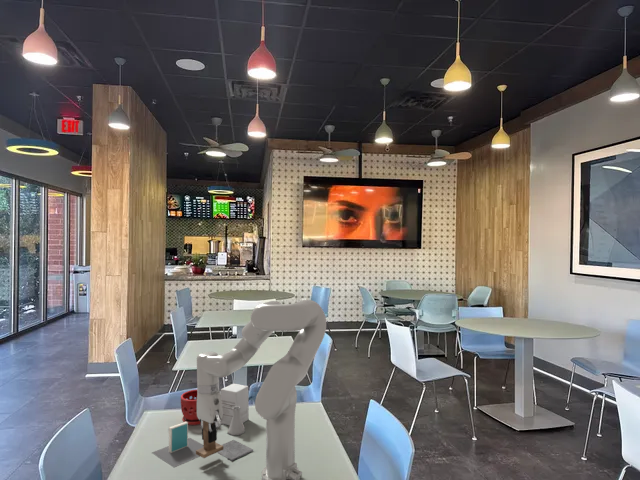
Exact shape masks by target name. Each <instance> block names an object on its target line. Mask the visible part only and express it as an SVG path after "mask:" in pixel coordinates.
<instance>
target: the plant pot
mask: <svg viewBox="0 0 640 480" xmlns="http://www.w3.org/2000/svg"><path fill="white" fill-rule="evenodd" d="M190 397H191V398H190ZM180 409H181V413H182V415H183V416H182V423H183V422H188V426H197V425H201V423H200V420H199V419H198V417H197V389H191V390H187V391H185V392H183V393H182V394H181V395H180Z"/></svg>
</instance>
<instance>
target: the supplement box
mask: <svg viewBox="0 0 640 480" xmlns="http://www.w3.org/2000/svg"><path fill="white" fill-rule="evenodd" d="M220 395H221V400H222V409H223V419H222V420H220V421H221V425H222V424H223V425H226V426H230V424H231V421H232V418H233V407H237V406H238V407H240V417H241V420H242V422H243V424H244V423H246V422H247V421H248V420H249V386H248V385H243V384H239V383H231V384H229V385H228V386H225V387H223V388H221V389H220Z"/></svg>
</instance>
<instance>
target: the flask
mask: <svg viewBox="0 0 640 480" xmlns="http://www.w3.org/2000/svg"><path fill="white" fill-rule="evenodd" d="M245 431H246V428H245V425H244V423H243V422H242V420H241V417H240V407H238V406H237V407H233V418H232V421H231V424H230V425H229V427H228V430H227V435H230V436H238V435H239V436H240V435H243V434H244V433H245Z"/></svg>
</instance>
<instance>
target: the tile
mask: <svg viewBox="0 0 640 480" xmlns="http://www.w3.org/2000/svg"><path fill="white" fill-rule="evenodd" d="M188 438H189V425H188V422H183V421H182V422H181V423H178V424H175V425H172V426H169V427H168V446H169V452H170V453H172V452H175V451H177V450H180V449H182V448H185V447H187V446H188Z"/></svg>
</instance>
